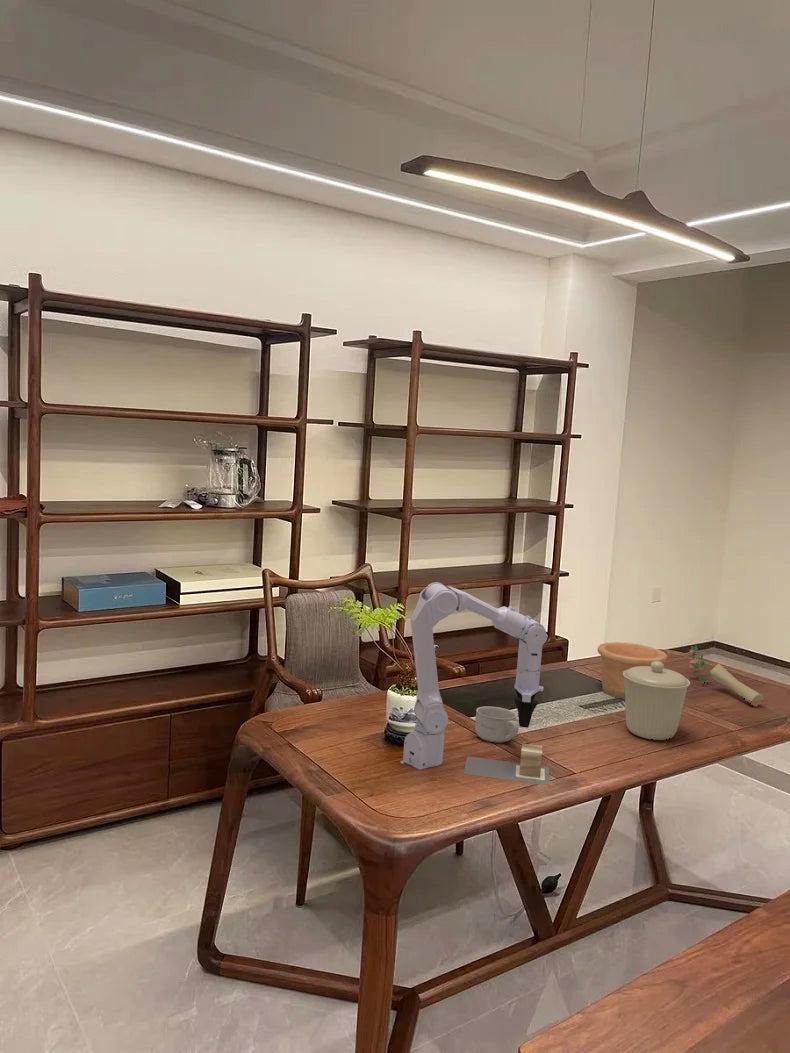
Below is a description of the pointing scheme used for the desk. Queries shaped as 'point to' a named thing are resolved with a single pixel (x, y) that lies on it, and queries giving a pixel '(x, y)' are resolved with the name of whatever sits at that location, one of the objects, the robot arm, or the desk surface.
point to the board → (503, 770)
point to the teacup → (495, 724)
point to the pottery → (624, 663)
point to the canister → (654, 700)
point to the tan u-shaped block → (530, 760)
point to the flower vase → (723, 677)
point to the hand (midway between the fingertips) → (524, 721)
